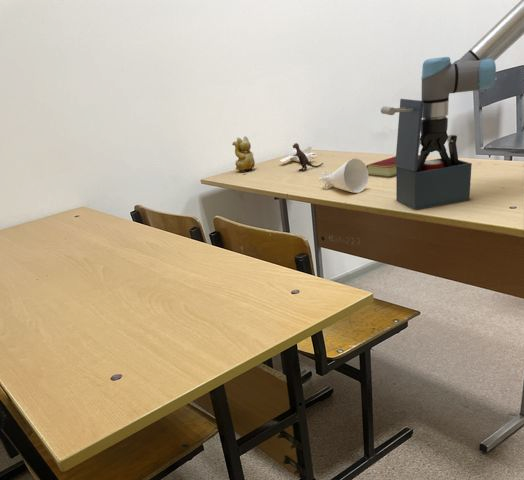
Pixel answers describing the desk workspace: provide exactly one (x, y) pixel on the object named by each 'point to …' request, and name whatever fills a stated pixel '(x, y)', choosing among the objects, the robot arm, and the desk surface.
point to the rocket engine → (348, 176)
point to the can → (432, 165)
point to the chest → (433, 185)
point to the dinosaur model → (303, 158)
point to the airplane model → (295, 158)
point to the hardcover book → (383, 168)
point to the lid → (407, 132)
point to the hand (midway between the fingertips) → (431, 195)
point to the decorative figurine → (243, 155)
